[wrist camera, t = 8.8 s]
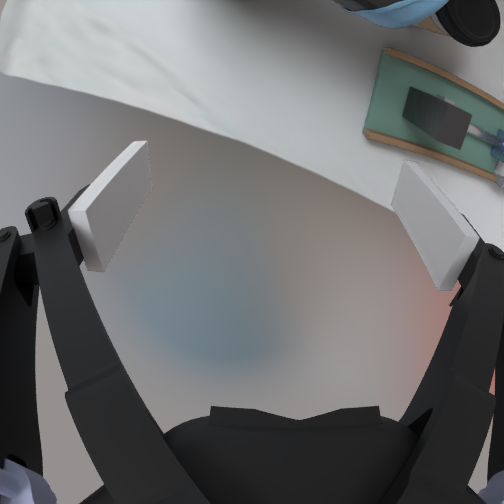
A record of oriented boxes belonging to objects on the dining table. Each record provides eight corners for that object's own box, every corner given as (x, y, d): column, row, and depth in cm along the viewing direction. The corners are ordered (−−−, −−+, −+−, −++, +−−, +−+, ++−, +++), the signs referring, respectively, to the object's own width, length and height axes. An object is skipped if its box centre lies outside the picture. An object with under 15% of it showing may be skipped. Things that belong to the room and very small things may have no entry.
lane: (383, 47, 33) (392, 48, 30) (511, 110, 35) (523, 116, 32) (362, 132, 42) (369, 139, 39) (488, 175, 44) (498, 184, 41)
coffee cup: (426, -22, 24) (484, -33, 13) (451, 32, 29) (514, 41, 18) (376, -10, 28) (425, -25, 16) (405, 46, 33) (461, 56, 21)
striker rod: (409, 86, 35) (448, 103, 27) (506, 132, 37) (545, 158, 28) (401, 116, 38) (436, 141, 30) (497, 156, 40) (534, 185, 31)
